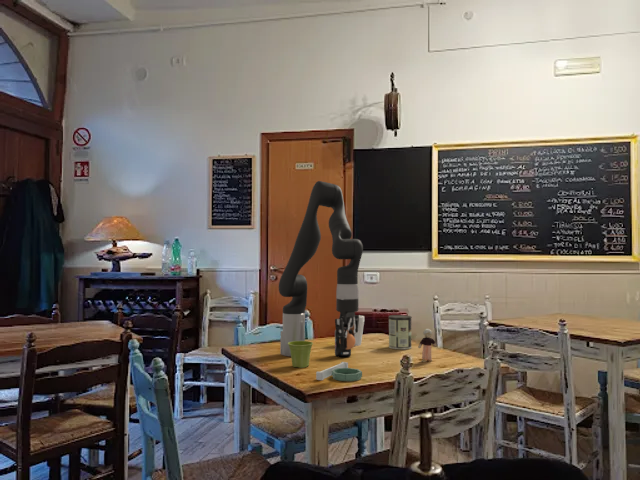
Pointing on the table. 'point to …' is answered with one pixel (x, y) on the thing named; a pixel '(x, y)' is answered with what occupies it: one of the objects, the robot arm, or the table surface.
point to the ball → (350, 341)
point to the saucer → (346, 374)
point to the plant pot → (300, 353)
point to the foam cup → (359, 331)
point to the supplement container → (338, 351)
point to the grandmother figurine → (427, 346)
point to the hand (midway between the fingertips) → (347, 347)
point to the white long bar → (330, 371)
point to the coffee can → (400, 332)
